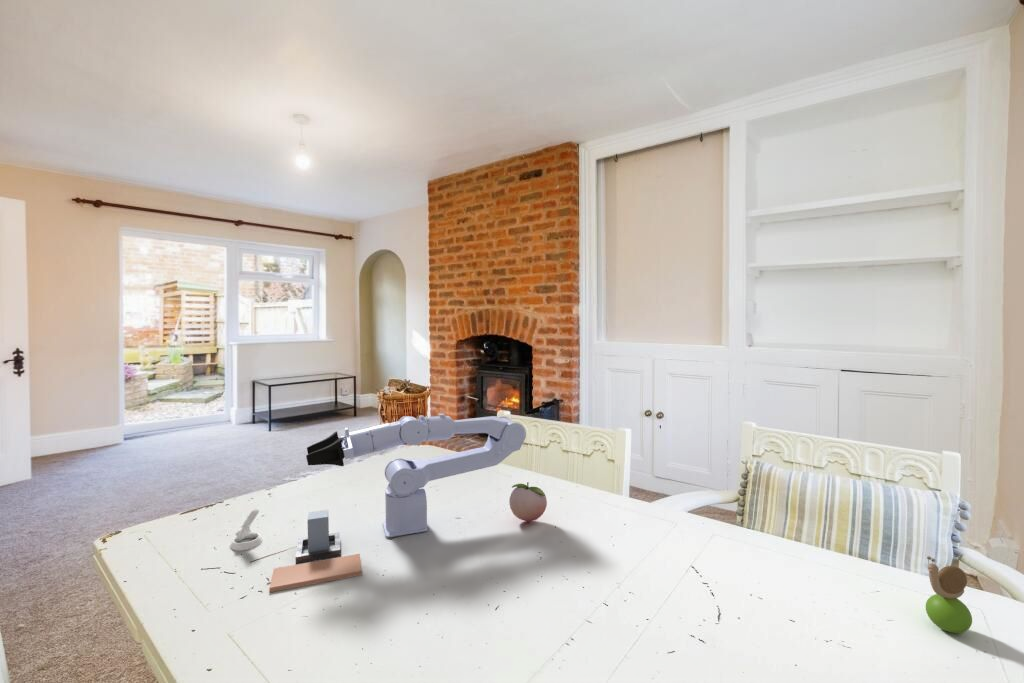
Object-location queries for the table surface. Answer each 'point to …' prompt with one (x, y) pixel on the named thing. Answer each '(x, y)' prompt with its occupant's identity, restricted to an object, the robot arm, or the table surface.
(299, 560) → the iron collar
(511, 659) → the table surface
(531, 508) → the decorative fruit
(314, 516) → the metal peg
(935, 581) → the snail figurine
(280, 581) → the terracotta tile
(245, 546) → the white handled ring
